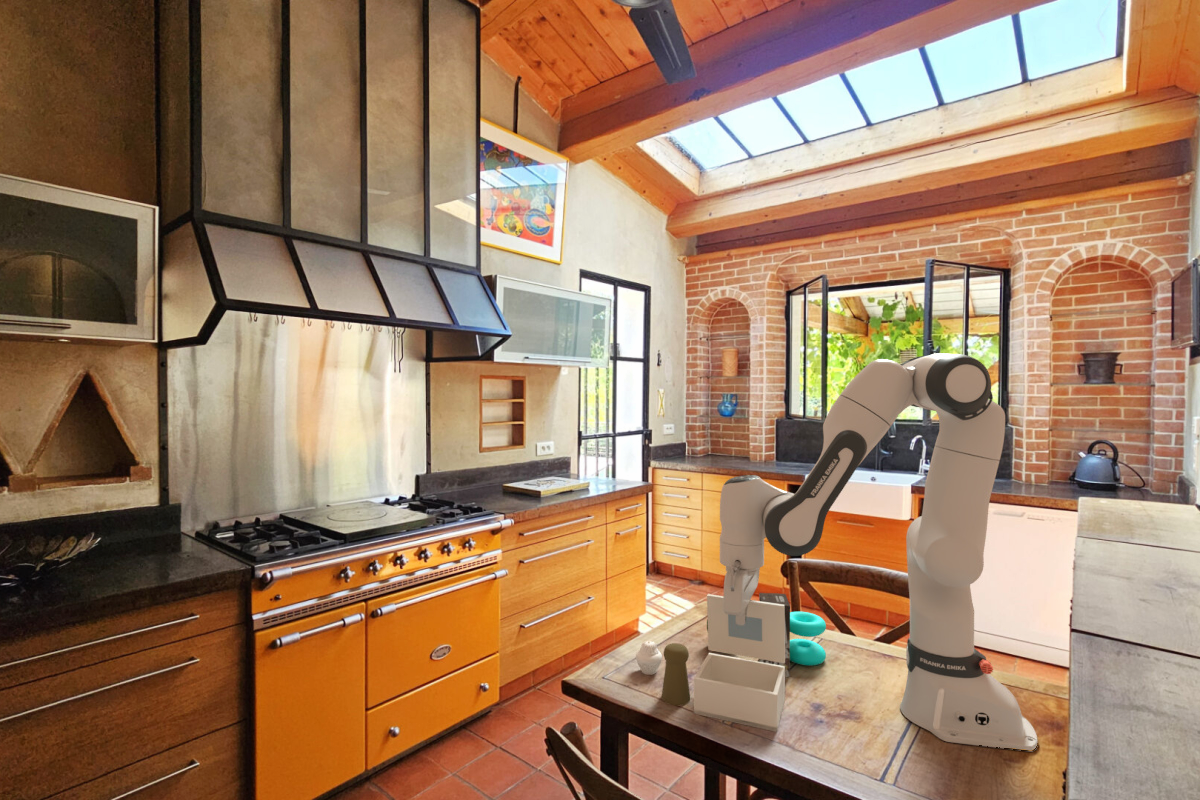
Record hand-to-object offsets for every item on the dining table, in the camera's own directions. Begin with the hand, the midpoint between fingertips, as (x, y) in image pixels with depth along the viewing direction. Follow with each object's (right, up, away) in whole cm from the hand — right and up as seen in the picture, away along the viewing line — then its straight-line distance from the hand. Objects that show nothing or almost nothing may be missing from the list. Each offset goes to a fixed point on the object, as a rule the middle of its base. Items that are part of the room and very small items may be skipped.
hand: (741, 622), depth 121 cm
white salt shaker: (-18, -17, +15) cm, 29 cm away
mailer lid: (+2, -3, +4) cm, 6 cm away
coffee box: (+12, -17, +17) cm, 27 cm away
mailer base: (0, -17, 0) cm, 17 cm away
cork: (-13, -17, +3) cm, 22 cm away
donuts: (+20, -17, +22) cm, 35 cm away
